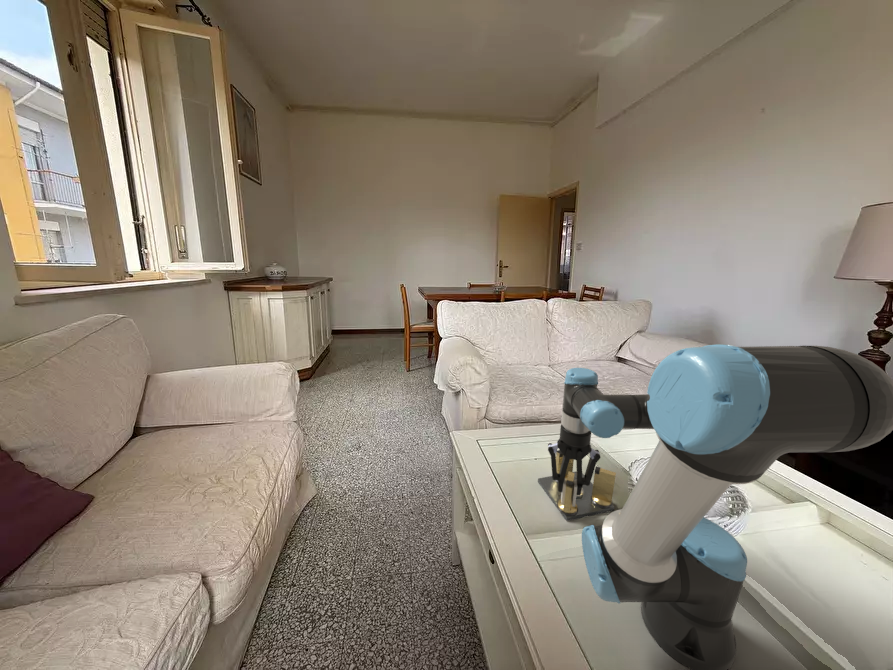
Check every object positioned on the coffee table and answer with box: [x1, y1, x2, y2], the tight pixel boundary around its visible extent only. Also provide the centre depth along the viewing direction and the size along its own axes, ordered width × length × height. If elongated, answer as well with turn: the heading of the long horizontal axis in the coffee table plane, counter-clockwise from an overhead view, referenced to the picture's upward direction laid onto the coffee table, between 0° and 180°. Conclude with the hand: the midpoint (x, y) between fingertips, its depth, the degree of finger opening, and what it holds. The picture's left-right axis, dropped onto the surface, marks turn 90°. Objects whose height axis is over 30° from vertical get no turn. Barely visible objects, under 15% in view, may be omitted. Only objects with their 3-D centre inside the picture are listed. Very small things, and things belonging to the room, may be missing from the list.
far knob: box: [556, 449, 575, 481], centre depth 105 cm, size 5×5×10 cm
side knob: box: [592, 465, 617, 506], centre depth 96 cm, size 5×5×10 cm
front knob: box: [558, 471, 577, 514], centre depth 94 cm, size 5×5×10 cm
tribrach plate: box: [537, 470, 615, 522], centre depth 102 cm, size 17×17×2 cm
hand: (567, 501), depth 95 cm, fingers closed on front knob, 2 cm apart
